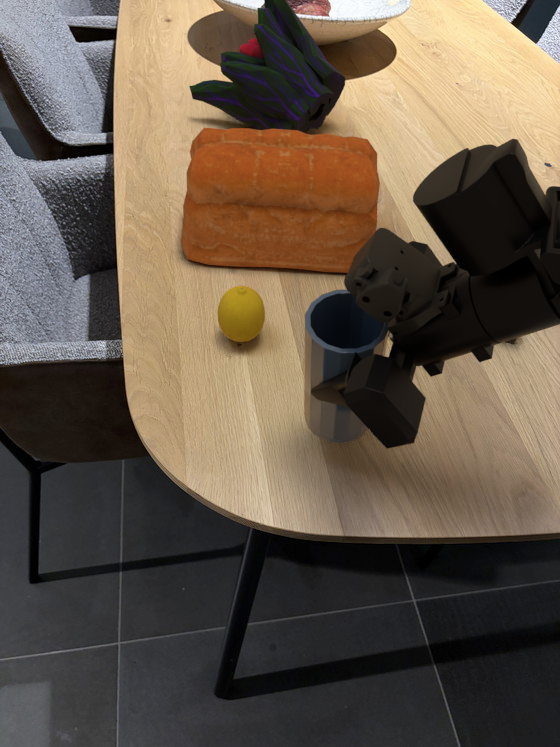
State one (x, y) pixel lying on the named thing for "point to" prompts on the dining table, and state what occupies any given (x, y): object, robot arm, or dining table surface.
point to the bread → (279, 199)
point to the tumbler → (337, 359)
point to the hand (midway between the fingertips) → (325, 364)
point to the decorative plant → (275, 76)
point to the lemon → (241, 313)
